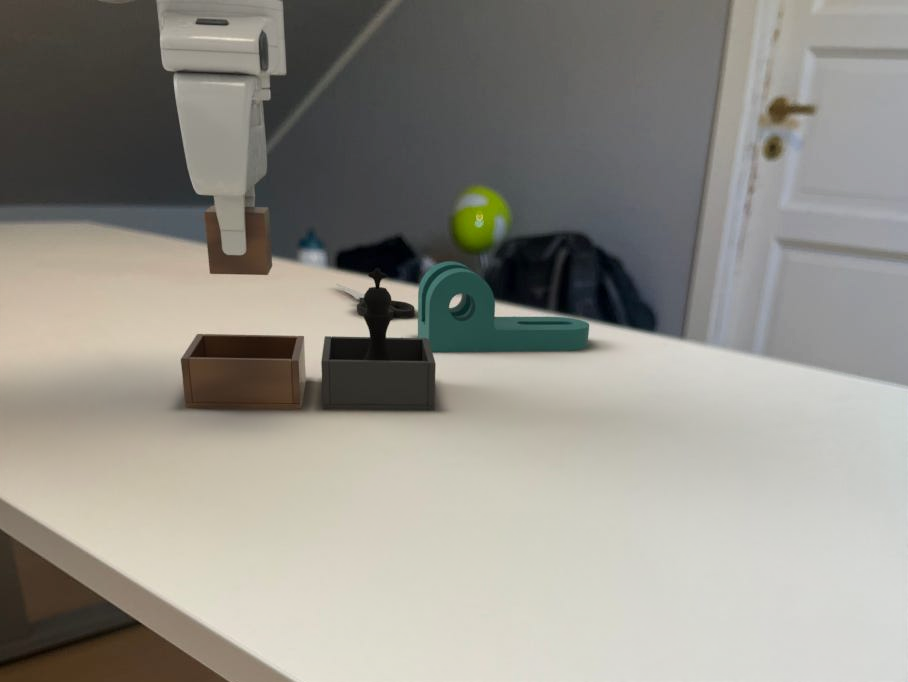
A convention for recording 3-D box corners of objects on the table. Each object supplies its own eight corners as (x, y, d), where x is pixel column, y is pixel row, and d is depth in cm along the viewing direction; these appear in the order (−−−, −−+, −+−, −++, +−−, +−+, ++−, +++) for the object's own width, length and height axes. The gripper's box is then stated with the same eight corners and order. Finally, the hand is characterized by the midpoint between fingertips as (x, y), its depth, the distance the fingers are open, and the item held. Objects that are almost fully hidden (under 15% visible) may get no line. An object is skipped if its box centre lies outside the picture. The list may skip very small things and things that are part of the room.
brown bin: (185, 408, 79) (180, 358, 77) (201, 379, 87) (197, 333, 85) (300, 409, 80) (298, 360, 78) (306, 381, 88) (304, 335, 86)
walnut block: (209, 274, 76) (203, 211, 74) (216, 265, 80) (211, 205, 78) (268, 275, 77) (264, 213, 74) (272, 266, 81) (268, 207, 78)
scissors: (309, 289, 127) (371, 320, 112) (309, 282, 126) (371, 312, 111) (357, 287, 130) (423, 317, 115) (357, 280, 129) (424, 309, 114)
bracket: (428, 352, 99) (429, 271, 96) (417, 338, 105) (418, 261, 101) (595, 351, 103) (603, 273, 99) (576, 337, 109) (583, 262, 105)
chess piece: (360, 381, 86) (358, 262, 82) (408, 385, 86) (409, 265, 81) (346, 394, 83) (343, 269, 78) (397, 398, 82) (397, 273, 77)
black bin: (323, 410, 80) (321, 360, 78) (326, 381, 88) (324, 336, 86) (434, 411, 81) (435, 362, 79) (427, 382, 89) (428, 338, 87)
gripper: (199, 49, 79) (215, 231, 86) (154, 37, 62) (179, 267, 68) (277, 52, 80) (287, 233, 87) (255, 42, 62) (270, 269, 69)
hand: (239, 248), depth 78 cm, fingers closed on walnut block, 4 cm apart
